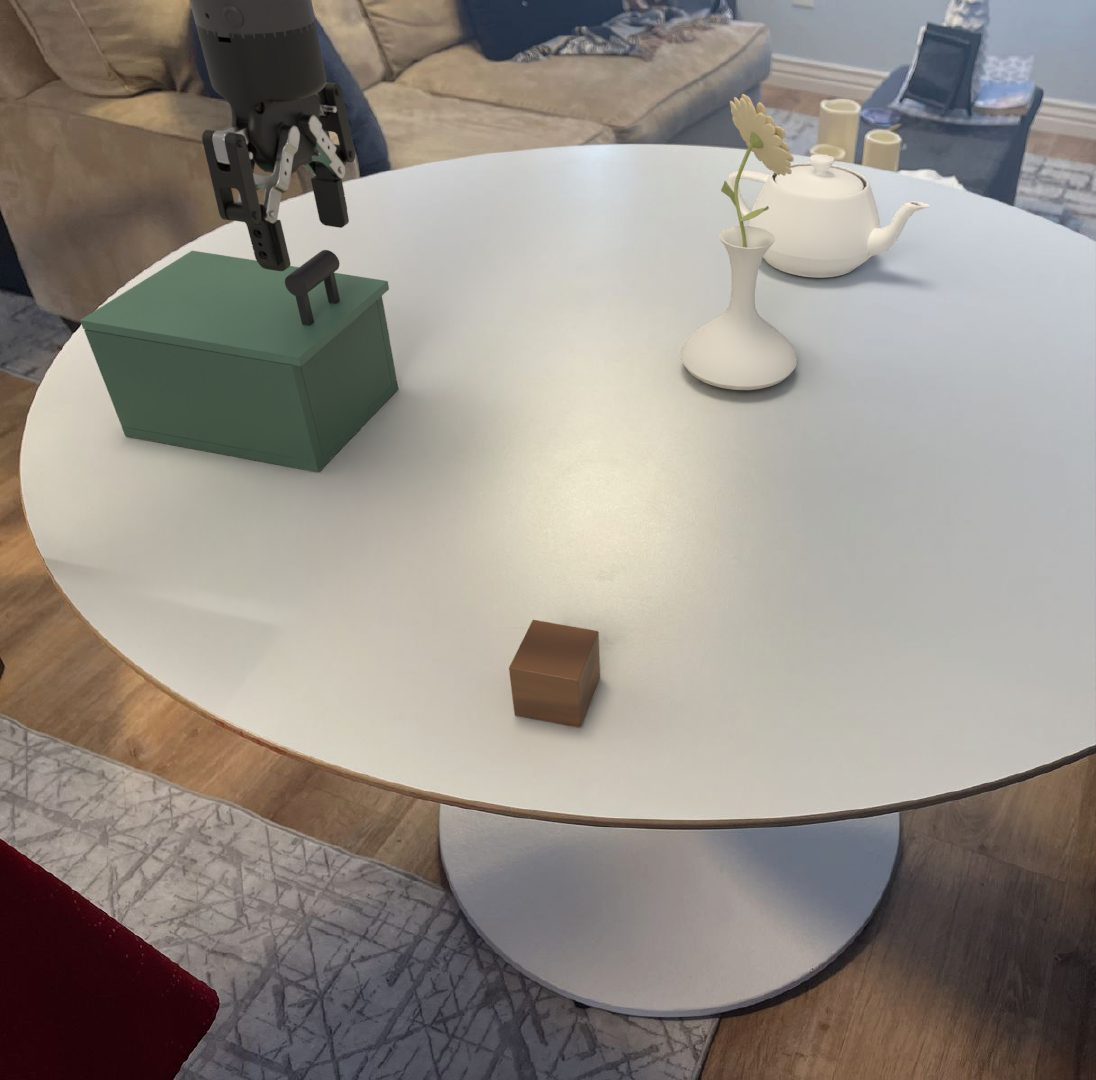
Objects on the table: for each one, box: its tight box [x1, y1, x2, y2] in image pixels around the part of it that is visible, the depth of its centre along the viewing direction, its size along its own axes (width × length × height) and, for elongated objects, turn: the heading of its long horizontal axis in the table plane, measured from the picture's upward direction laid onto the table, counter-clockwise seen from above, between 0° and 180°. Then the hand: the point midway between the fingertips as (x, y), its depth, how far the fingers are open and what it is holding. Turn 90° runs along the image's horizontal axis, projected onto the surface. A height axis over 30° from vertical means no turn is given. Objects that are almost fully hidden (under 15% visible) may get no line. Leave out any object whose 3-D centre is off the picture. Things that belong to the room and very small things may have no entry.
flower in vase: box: [679, 93, 798, 391], centre depth 91 cm, size 13×11×25 cm
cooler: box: [83, 295, 399, 473], centre depth 86 cm, size 18×14×10 cm
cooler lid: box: [79, 249, 390, 366], centre depth 81 cm, size 19×14×5 cm
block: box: [508, 619, 601, 729], centre depth 63 cm, size 4×4×4 cm
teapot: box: [726, 153, 931, 279], centre depth 116 cm, size 25×16×12 cm, turn 61°
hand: (306, 245), depth 77 cm, fingers open, 8 cm apart
